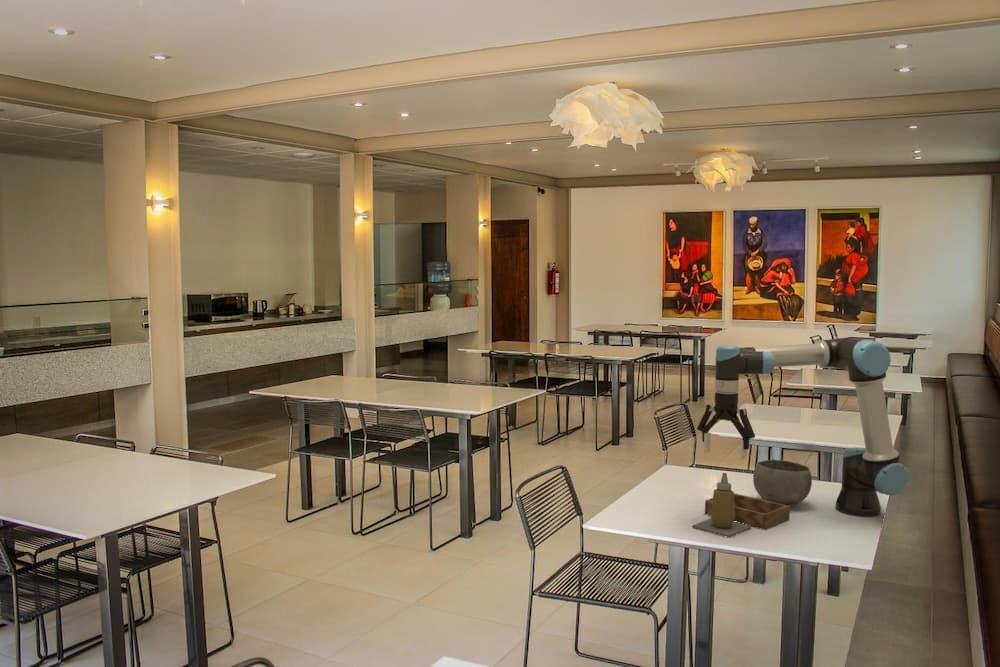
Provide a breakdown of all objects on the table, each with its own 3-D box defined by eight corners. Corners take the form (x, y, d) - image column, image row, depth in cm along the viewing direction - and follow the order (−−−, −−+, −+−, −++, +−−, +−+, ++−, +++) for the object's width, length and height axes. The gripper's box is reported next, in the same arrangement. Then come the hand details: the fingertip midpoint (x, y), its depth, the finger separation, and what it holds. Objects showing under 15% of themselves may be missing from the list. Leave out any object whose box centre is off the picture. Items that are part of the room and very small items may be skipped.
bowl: (800, 515, 294) (802, 474, 293) (744, 505, 306) (745, 465, 305) (817, 503, 310) (819, 463, 309) (763, 493, 323) (765, 455, 322)
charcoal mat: (751, 529, 278) (751, 526, 278) (729, 537, 268) (729, 535, 268) (714, 519, 288) (714, 517, 288) (692, 527, 278) (692, 525, 278)
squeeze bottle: (717, 530, 273) (719, 476, 272) (705, 522, 281) (707, 470, 279) (739, 529, 275) (741, 475, 273) (727, 521, 283) (729, 469, 281)
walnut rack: (789, 520, 288) (789, 505, 288) (765, 529, 277) (766, 515, 277) (729, 505, 305) (729, 492, 305) (704, 514, 294) (705, 500, 293)
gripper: (687, 389, 281) (686, 450, 282) (755, 397, 263) (753, 463, 265) (700, 387, 286) (698, 447, 288) (767, 395, 268) (764, 459, 270)
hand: (724, 455), depth 276 cm, fingers open, 13 cm apart
